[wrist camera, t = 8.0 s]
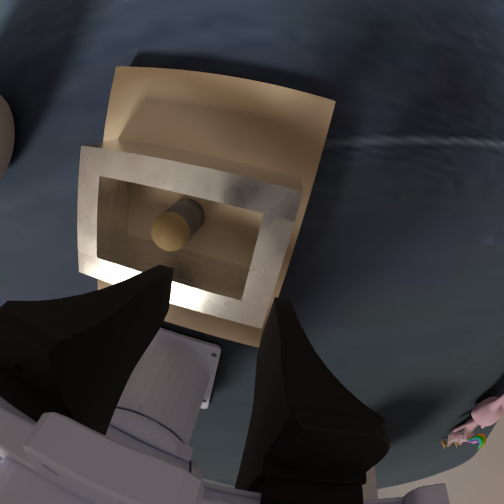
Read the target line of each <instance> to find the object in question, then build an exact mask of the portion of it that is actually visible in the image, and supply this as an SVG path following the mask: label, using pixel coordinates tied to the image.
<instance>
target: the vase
mask: <svg viewBox="0 0 504 504" xmlns="http://www.w3.org/2000/svg"><path fill="white" fill-rule="evenodd" d="M14 141H15V126H14V120H13V116H12V113H11V110H10V107H9V105H8V103H7V102H6V101H5V99H4V98H3V97H2V96H1V95H0V180H1V178H2V176H3V175H4V173H5V171H6V170H7V168H8V165H9V163H10V160H11V156H12V152H13V148H14Z"/></svg>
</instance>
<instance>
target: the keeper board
mask: <svg viewBox="0 0 504 504" xmlns="http://www.w3.org/2000/svg"><path fill="white" fill-rule="evenodd" d="M335 102H336V101H333V100H330V99H327V98H323V97H320V96H316V95H313V94H309V93H306V92H302V91H298V90H294V89H290V88H286V87H282V86H277V85H273V84H268V83H264V82H259V81H254V80H249V79H243V78H238V77H232V76H226V75H219V74H212V73H205V72H197V71H188V70H178V69H166V68H150V67H116V70H115V75H114V80H113V84H112V89H111V94H110V100H109V105H108V111H107V117H106V124H105V131H104V138H103V142H104V141H110V140H116V139H119V140H126V141H133V142H139V143H146V144H152V145H158V146H163V147H169V148H175V149H180V150H185V151H190V152H195V153H200V154H205V155H210V156H215V157H219V158H224V159H228V160H233V161H237V162H241V163H246V164H250V165H254V166H258V167H262V168H266V169H270V170H274V171H278V172H282V173H285V174H289V175H293V176H296V177H300V178H301V182H302V187H303V195H302V198H301V202H300V205H299V209H298V212H297V216H296V219H295V223H294V226H293V229H292V233H291V236H290V239H289V243H288V246H287V249H286V253H285V256H284V259H283V263H282V266H281V269H280V272H279V276H278V279H277V282H276V285H275V288H274V292H273V295H272V298H271V301H270V304H269V307H268V310H267V314H266V317H265V320H264V323H263V326H262V329H261V328H257V327H253V326H249V325H245V324H242V323H238V322H234V321H230V320H227V319H223V318H219V317H216V316H212V315H209V314H205V313H202V312H198V311H195V310H191V309H188V308H185V307H181V306H178V305H175V304H172V303H170V306H169V311H168V313H167V315H166V317H165V319H164V321H166V322H169V323H173V324H176V325H179V326H182V327H185V328H189V329H192V330H195V331H199V332H202V333H206V334H209V335H213V336H216V337H220V338H223V339H227V340H231V341H235V342H238V343H242V344H246V345H250V346H254V347H258V348H259V346H260V341H261V336H262V333H263V330H264V327H265V324H266V322H267V319H268V316H269V313H270V310H271V307H272V304H273V301H274V298H275V297H277V298H278V297H279V294H280V291H281V288H282V284H283V281H284V278H285V275H286V272H287V269H288V266H289V263H290V259H291V256H292V253H293V250H294V247H295V243H296V240H297V237H298V234H299V230H300V227H301V224H302V221H303V217H304V214H305V211H306V207H307V204H308V200H309V197H310V194H311V190H312V187H313V183H314V180H315V176H316V173H317V169H318V166H319V162H320V158H321V155H322V151H323V148H324V144H325V140H326V137H327V133H328V129H329V125H330V122H331V118H332V114H333V110H334V106H335ZM263 215H264V214H263V213H259V212H255V211H251V210H247V209H243V208H239V207H235V206H231V205H227V204H223V203H219V202H215V201H211V200H207V199H203V198H199V197H194V196H190V195H186V194H182V193H177V192H173V191H169V190H164V189H160V188H155V187H151V186H146V185H141V184H137V183H132V182H131V191H130V202H129V214H128V227H127V234H128V235H132V236H135V237H139V238H142V239H146V240H150V241H153V242H155V244H156V245H157V246H158V247H160V248H161V249H163V250H166V251H176V250H179V249H182V250H186V251H190V252H193V253H197V254H201V255H204V256H208V257H212V258H215V259H219V260H223V261H227V262H230V263H234V264H238V265H242V266H245V267H249V268H250V265H251V261H252V257H253V254H254V250H255V246H256V242H257V238H258V234H259V230H260V226H261V222H262V218H263ZM111 285H113V284H111V283H108V282H105V281H103V280H100V279H98V290H100V289H103V288H106V287H108V286H111Z"/></svg>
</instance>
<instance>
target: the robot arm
mask: <svg viewBox="0 0 504 504" xmlns="http://www.w3.org/2000/svg"><path fill="white" fill-rule="evenodd" d="M173 272H174V269H173V268H170V267H167V266H163V265H157V266H155V267H153V268H150V269H148V270H146V271H144V272H142V273H139V274H137V275H135V276H133V277H131V278H128V279H126V280H124V281H121V282H118V283H116V284H113V285H111V286H108V287H106V288H103V289H100V290H96V291H93V292H89V293H86V294H82V295H77V296H72V297H66V298H61V299H53V300H43V301H7V302H6V303H5V304H4V305H2V306H1V307H0V466H1V468H0V504H449V498H448V494H447V489H446V485H445V484H444V483H442V484H435V485H429V486H423V487H419V488H416V489H414V490H412V491H410V492H409V493H407V494H406V495H405V496H404V497H396V498H385V499H365V500H363V488H362V485H364V484H366V482H367V477H366V472H367V471H368V470H370V469H371V468H372V467H373V466H375V465H376V464H377V463H378V462H379V461H380V460H382V458H383V457H384V456H385V455H386V454H387V453H388V451H389V448H390V444H389V438H388V431H387V427H386V423H385V420H384V418H383V417H381V416H380V415H379V414H377V413H376V412H374V411H373V410H372V409H370V408H369V407H367V406H366V405H365V404H363V403H362V402H361V401H360V400H359V399H357V398H356V397H355V396H354V395H353V394H352V393H351V392H349V391H348V390H347V389H346V388H345V387H344V386H343V385H342V384H341V383H340V382H339V380H338V379H337V378H336V377H335V376H334V375H333V374H332V373H331V372H330V370H329V369H328V368H327V367H326V365H325V364H324V363H323V361H322V360H321V359H320V357H319V356H318V355H317V353H316V352H315V350H314V348H313V347H312V345H311V344H310V342H309V340H308V338H307V336H306V334H305V332H304V330H303V329H302V327H301V324H300V322H299V320H298V318H297V316H296V313H295V311H294V309H293V306H292V304H291V302H290V301H288V300H284V299H280V298H277V297H275V298H274V301H273V304H272V307H271V310H270V313H269V316H268V319H267V322H266V324H265V327H264V330H263V333H262V336H261V341H260V346H259V350H258V355H257V366H256V378H255V391H254V403H253V410H252V415H251V420H250V425H249V430H248V435H247V439H246V444H245V448H244V453H243V457H242V461H241V465H240V469H239V474H238V477H237V481H236V485H235V489H234V488H229V487H224V486H220V485H216V484H212V483H208V482H204V481H202V479H203V478H202V472H201V470H200V468H199V465H198V463H197V462H195V461H193V460H190V459H191V455H192V452H193V448H192V447H190V446H188V445H189V442H190V438H191V435H192V432H193V429H194V426H195V423H196V420H197V417H198V414H199V410H200V408H204V409H206V408H207V407H208V405H209V400H210V396H211V392H212V387H213V383H214V379H215V375H216V370H217V366H218V362H219V358H220V353H221V347H220V346H219V345H216V344H213V343H209V342H206V341H202V340H199V339H195V338H192V337H189V336H185V335H182V334H179V333H176V332H173V331H170V330H166V329H163V328H161V326H162V324H163V322H164V319H165V317H166V315H167V313H168V311H169V306H170V297H171V288H172V280H173ZM213 353H215V354H213Z"/></svg>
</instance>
